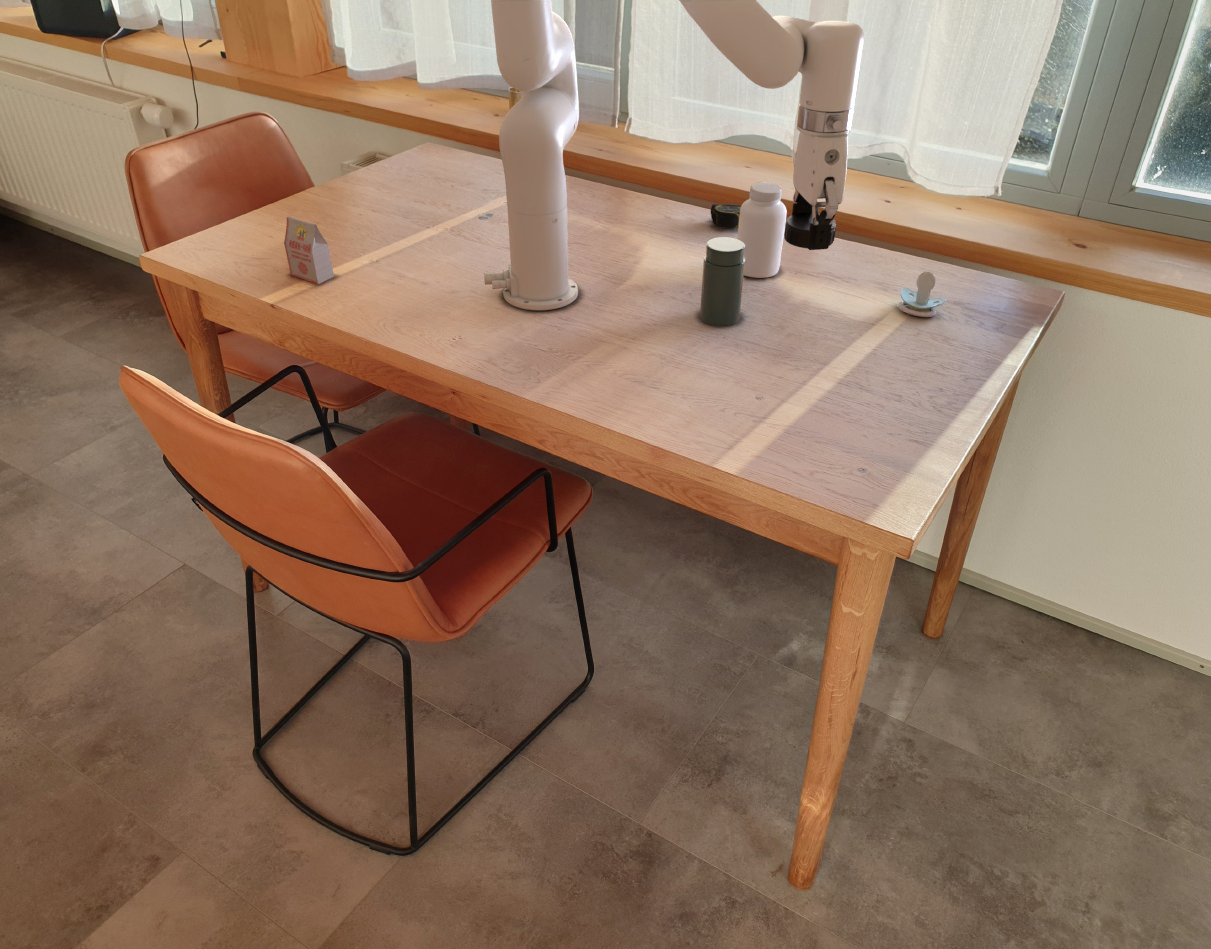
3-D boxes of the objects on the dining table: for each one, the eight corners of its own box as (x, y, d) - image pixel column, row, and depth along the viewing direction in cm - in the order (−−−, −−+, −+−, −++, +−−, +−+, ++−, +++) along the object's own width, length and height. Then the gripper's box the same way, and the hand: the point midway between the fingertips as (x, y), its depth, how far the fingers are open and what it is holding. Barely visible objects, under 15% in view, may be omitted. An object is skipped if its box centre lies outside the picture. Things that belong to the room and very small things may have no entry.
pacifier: (931, 323, 150) (946, 309, 154) (939, 288, 146) (954, 274, 150) (889, 310, 154) (904, 297, 158) (895, 276, 150) (911, 262, 154)
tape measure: (744, 220, 186) (746, 201, 184) (746, 233, 180) (748, 214, 178) (709, 219, 186) (711, 200, 184) (711, 232, 181) (712, 213, 178)
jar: (704, 327, 149) (710, 253, 141) (695, 309, 154) (700, 237, 146) (743, 324, 149) (751, 251, 142) (733, 307, 155) (740, 235, 147)
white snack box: (306, 268, 166) (295, 213, 161) (334, 276, 164) (323, 221, 158) (290, 275, 164) (279, 220, 158) (318, 284, 161) (307, 228, 155)
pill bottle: (778, 281, 163) (788, 196, 154) (732, 277, 164) (739, 193, 155) (780, 263, 169) (790, 180, 160) (736, 259, 170) (743, 177, 161)
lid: (824, 229, 146) (826, 211, 144) (840, 247, 140) (843, 229, 138) (777, 231, 145) (780, 214, 143) (792, 250, 139) (794, 232, 137)
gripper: (872, 135, 125) (852, 259, 136) (829, 101, 139) (814, 216, 150) (819, 138, 125) (802, 263, 135) (780, 103, 139) (768, 219, 149)
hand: (808, 237), depth 142 cm, fingers closed on lid, 7 cm apart
